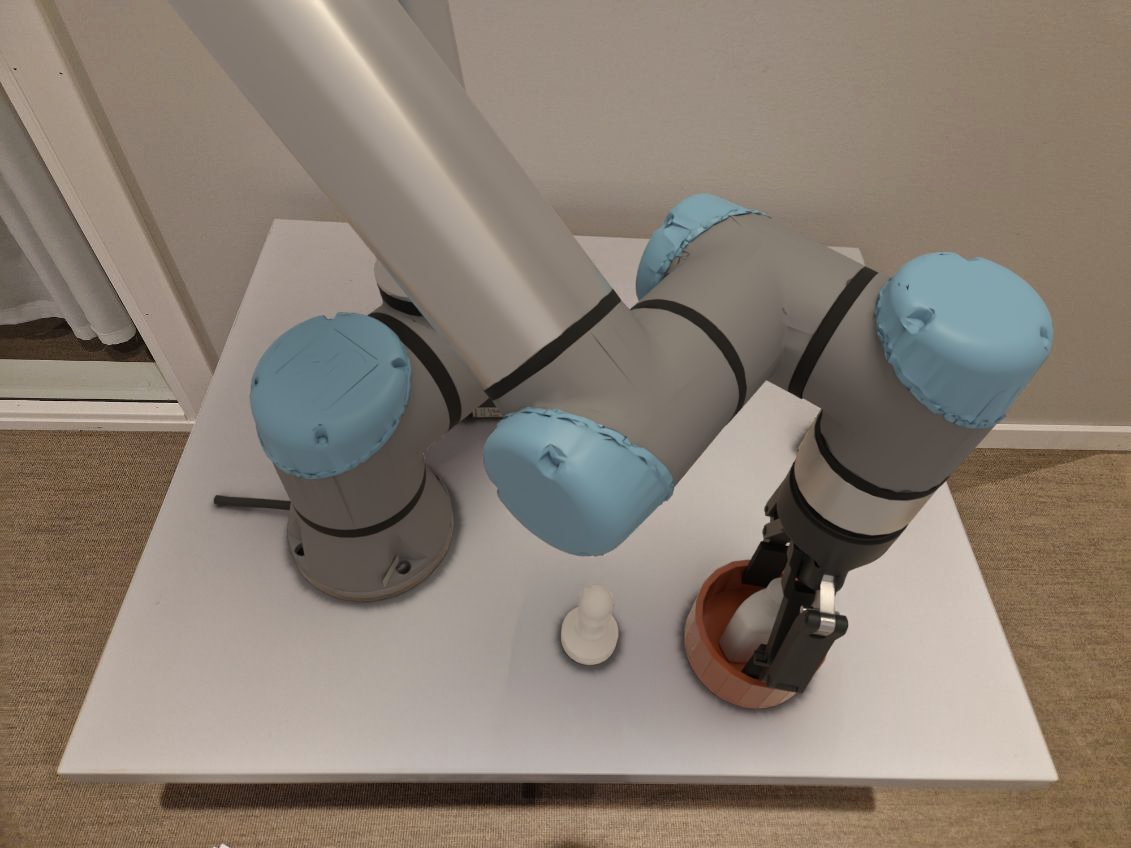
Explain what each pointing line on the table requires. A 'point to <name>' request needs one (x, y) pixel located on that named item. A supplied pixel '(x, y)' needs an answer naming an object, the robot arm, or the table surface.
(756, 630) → the eye dropper bottle
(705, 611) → the crock
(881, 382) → the robot arm
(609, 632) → the chess pawn
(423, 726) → the table surface
